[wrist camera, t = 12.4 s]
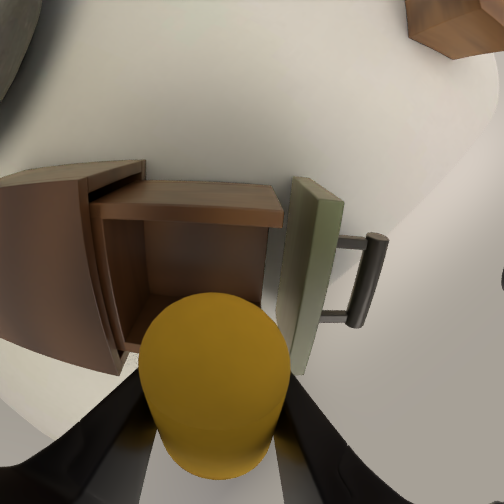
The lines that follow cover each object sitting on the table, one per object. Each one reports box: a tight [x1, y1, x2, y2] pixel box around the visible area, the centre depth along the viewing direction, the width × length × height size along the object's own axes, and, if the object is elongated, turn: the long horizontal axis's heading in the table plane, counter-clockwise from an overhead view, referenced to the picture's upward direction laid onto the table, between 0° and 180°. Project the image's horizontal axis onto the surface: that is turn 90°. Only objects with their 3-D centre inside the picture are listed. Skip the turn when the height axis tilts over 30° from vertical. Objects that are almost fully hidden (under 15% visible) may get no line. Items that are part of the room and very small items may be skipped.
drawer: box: [89, 176, 389, 375], centre depth 16 cm, size 16×10×7 cm
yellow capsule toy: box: [138, 292, 291, 480], centre depth 7 cm, size 7×4×4 cm, turn 175°
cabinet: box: [0, 160, 146, 376], centre depth 15 cm, size 13×12×9 cm
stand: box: [405, 0, 504, 60], centre depth 8 cm, size 5×5×9 cm
